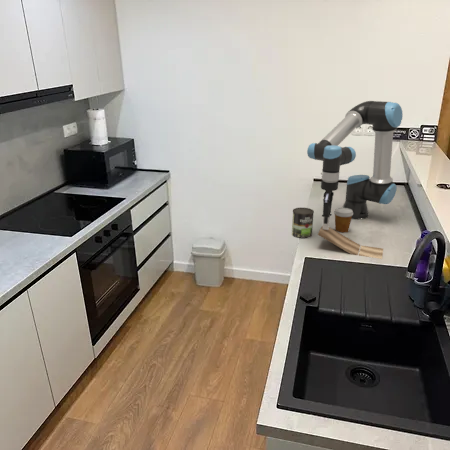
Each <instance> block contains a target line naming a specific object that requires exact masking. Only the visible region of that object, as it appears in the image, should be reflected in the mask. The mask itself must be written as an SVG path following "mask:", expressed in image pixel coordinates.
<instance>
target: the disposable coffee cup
mask: <svg viewBox="0 0 450 450" xmlns="http://www.w3.org/2000/svg"><path fill="white" fill-rule="evenodd" d="M333 213H334V226H335V227H334V228H335V229H334V230H335V231H337V232H338V233H349V229H350V226H351V222H352V215H353V211H352V210H351V209H348V208H342V207H337V208H335V210H334V212H333Z"/></svg>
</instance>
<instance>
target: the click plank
mask: <svg viewBox="0 0 450 450" xmlns="http://www.w3.org/2000/svg"><path fill="white" fill-rule="evenodd" d="M322 227H323V224H322V226H321V227H320V229H319V231H318V233H317V235H318V236H319V237H321V238H322V239H325V240H326V241H328V242H329V243H331V244H333V245H334V246H336V247H338V248H339V249H341V250H343V251H344V252H347V253H349V254H350V255H354V256H359V252H360V248H361V244H360V243H357V242H356V241H353V240H352V239H350V238H348V237H347V236H345V235H344V234H342V233H341V232H338V231H336V230H335V229H333V228H331V227H330V226H329V229H328V230H324V229H322Z"/></svg>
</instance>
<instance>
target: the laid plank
mask: <svg viewBox="0 0 450 450" xmlns="http://www.w3.org/2000/svg"><path fill="white" fill-rule="evenodd" d="M383 254H384V248H381V247H375V246H367V245H361V244H360V249H359V252H358V256H359V257H366V258H371V259H381V260H382V259H383Z"/></svg>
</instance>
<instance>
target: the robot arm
mask: <svg viewBox="0 0 450 450" xmlns="http://www.w3.org/2000/svg"><path fill="white" fill-rule="evenodd" d="M402 121H403V108H402V106H401V105H400V104H399V103H397V102H392V101H381V100H380V101H378V100H376V101H375V100H367V101H363V102H361V103H359V104H357V105H355V106H354V107H352V108H350V109H349V110H348V111H347V112H346V114H345V116H344V118H343V119H342V120H341V121H340V122H339V123H338V124H337V125H336V126H334V127H333V129H332V130H331V131H329V132H328V133H327V134H326V135H325V136H324V137H323V138H322V139H321V140H320V141H319V142H318V143H316V142H315V143H314V142H313V143H310V144H309V145H308V147H307V151H306V152H307V156H308V158H309V159H311V160H315V161H322V169H321V171H322V172H320V175H321V182H320V188H321V190H323V191H324V193H323V199H322V201H323V204H322V205H323V207H322V215H321V217H323V218H322V225H323V227H322V226H321V227H322V229H324V230H328V229H329V227H330V217H331V216H332V205H333V200H334V194H335V192H334V191H337V190H338V189H339V179H340V168H341V166H343V165H347V164H350V163H353V161H355V159H356V157H357V154H356V150H355V148H353V147H352V146H344V147H342V146H340V144H341V143H342V142H343V141H345V139H346V138H347V137H348V136H349V135H350V134H351V133H352V132H353V131H354V130H355V129H358V128H360V127H361V126H362V125H369V126H371V125H372V128H371V129H372V131H373V132H374V133H375V135H374V149H373V150H374V152H373V167H372V169H373V170H372V172H373V173H372V176H371V177H370V175H367V174H354V175H350V176H348V178H347V182H346V191H345V201H344V203H343V206H342V207H341V208H348V209H351V210H352V211H353V215H352V218H355V219H354V220H356V219H357V220H362V219H361V218H364V219H366V217H367V218H368V217H369V209H368V204H367V201H369V202H372V203H378V204H382V205H388V204H390V203H392V201H393V200H394V198H395V196H396V193H397V189H398V188H397V185H396V184H395V183H394V181H393V180H394V179H393V177H391V168H392V154H393V153H392V151H393V140H394V139H393V138H394V132H396V131H397V130H398V127H400V126H401V124H402ZM352 218H351V219H352Z"/></svg>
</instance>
